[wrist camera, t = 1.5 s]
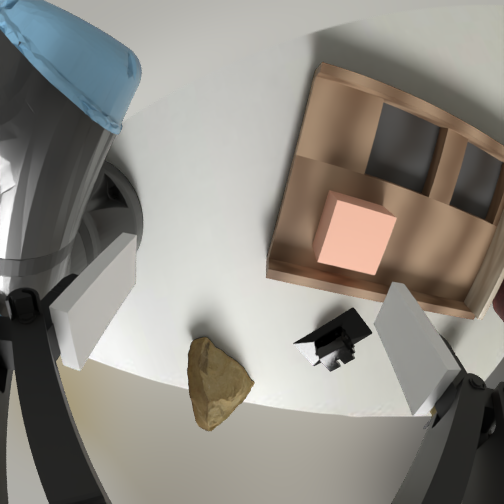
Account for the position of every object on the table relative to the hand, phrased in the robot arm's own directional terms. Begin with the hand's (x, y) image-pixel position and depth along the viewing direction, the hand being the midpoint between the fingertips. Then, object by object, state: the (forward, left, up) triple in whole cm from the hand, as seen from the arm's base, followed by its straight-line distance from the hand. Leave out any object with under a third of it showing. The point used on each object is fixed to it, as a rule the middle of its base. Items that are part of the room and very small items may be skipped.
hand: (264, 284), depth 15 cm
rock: (0, -24, -19) cm, 30 cm away
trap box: (+16, +3, -19) cm, 25 cm away
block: (+9, -1, -17) cm, 19 cm away
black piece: (+13, -16, -19) cm, 28 cm away
